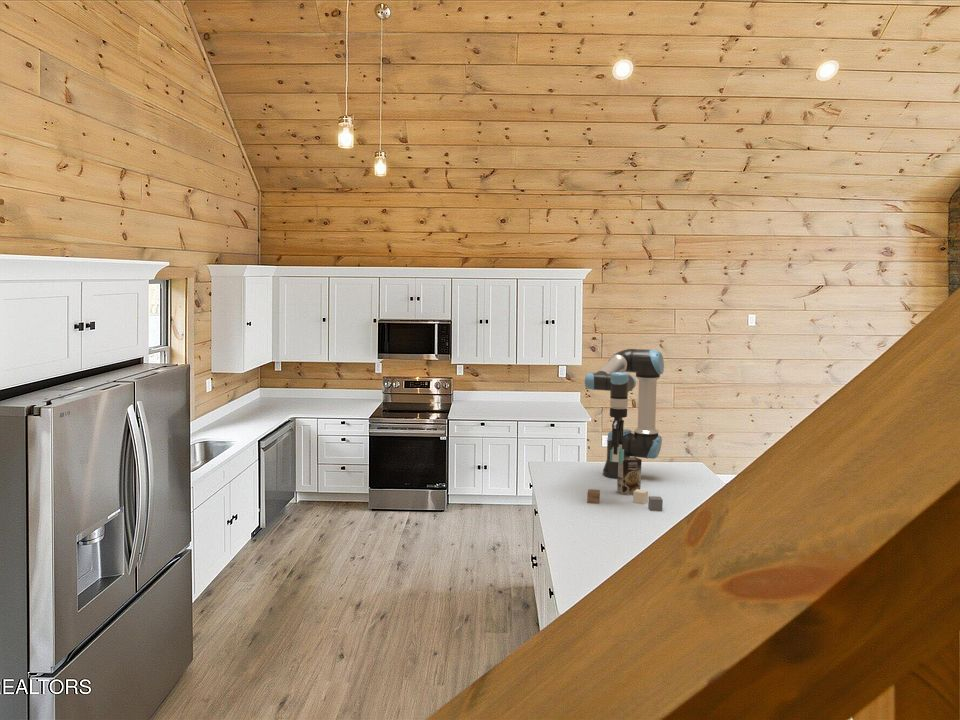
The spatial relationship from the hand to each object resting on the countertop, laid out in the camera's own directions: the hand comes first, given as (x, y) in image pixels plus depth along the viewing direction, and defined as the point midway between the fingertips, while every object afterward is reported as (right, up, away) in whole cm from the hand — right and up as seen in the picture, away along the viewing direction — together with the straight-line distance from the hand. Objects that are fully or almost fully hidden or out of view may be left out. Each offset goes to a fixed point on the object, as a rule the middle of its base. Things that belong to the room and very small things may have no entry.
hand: (616, 460), depth 339 cm
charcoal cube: (+15, -20, -9) cm, 26 cm away
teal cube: (0, 0, 0) cm, 0 cm away
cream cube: (+11, -19, +2) cm, 22 cm away
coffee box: (+9, -18, +18) cm, 27 cm away
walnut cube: (-10, -19, +1) cm, 21 cm away
